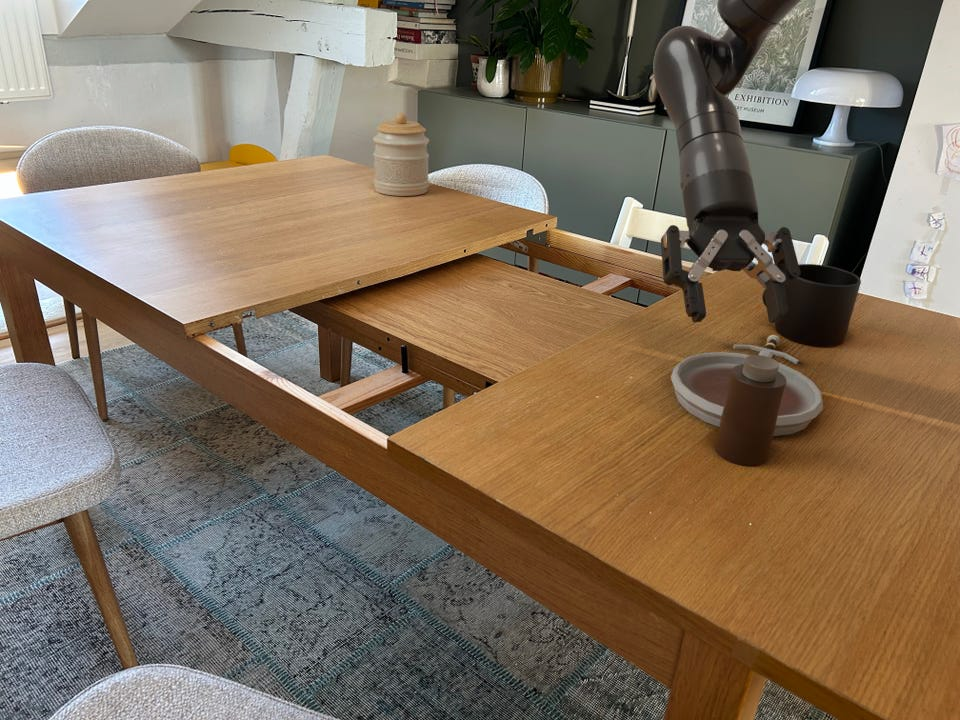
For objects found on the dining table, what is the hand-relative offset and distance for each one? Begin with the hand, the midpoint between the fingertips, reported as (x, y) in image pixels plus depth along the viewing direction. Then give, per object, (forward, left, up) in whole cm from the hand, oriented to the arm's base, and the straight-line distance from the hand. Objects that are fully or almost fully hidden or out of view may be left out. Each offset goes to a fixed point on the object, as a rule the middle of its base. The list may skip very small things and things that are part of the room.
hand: (738, 319), depth 77 cm
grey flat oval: (-2, -12, -12) cm, 17 cm away
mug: (-5, -33, -12) cm, 35 cm away
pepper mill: (-4, +5, -12) cm, 14 cm away
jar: (+89, -69, -12) cm, 114 cm away
